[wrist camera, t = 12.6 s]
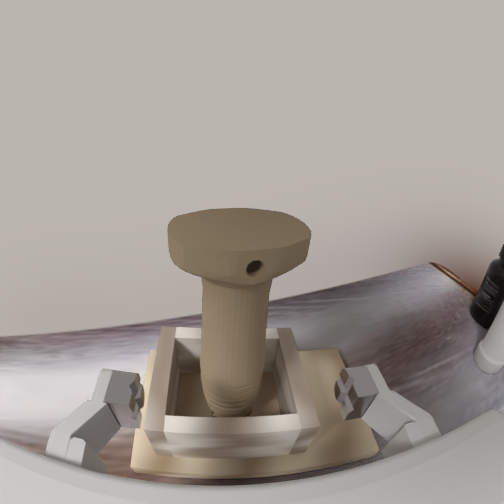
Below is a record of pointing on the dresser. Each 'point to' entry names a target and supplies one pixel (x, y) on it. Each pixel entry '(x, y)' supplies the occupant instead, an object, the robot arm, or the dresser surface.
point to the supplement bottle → (490, 293)
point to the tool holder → (250, 427)
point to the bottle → (492, 346)
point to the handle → (235, 292)
